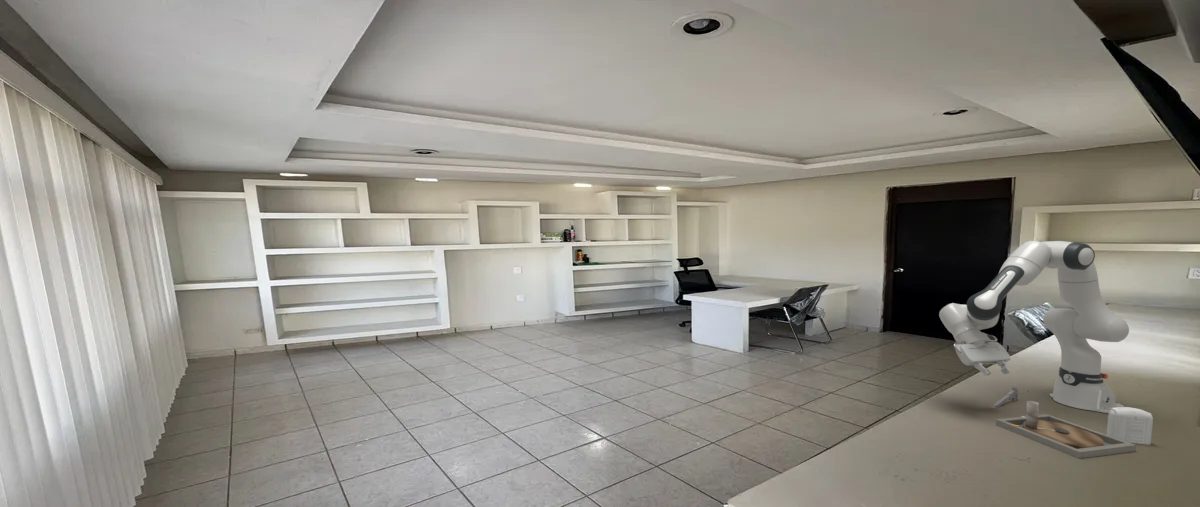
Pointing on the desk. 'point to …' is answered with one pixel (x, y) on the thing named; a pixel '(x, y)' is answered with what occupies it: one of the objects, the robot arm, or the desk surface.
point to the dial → (1059, 430)
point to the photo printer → (1130, 425)
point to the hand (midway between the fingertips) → (997, 374)
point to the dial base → (1110, 444)
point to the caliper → (1008, 397)
